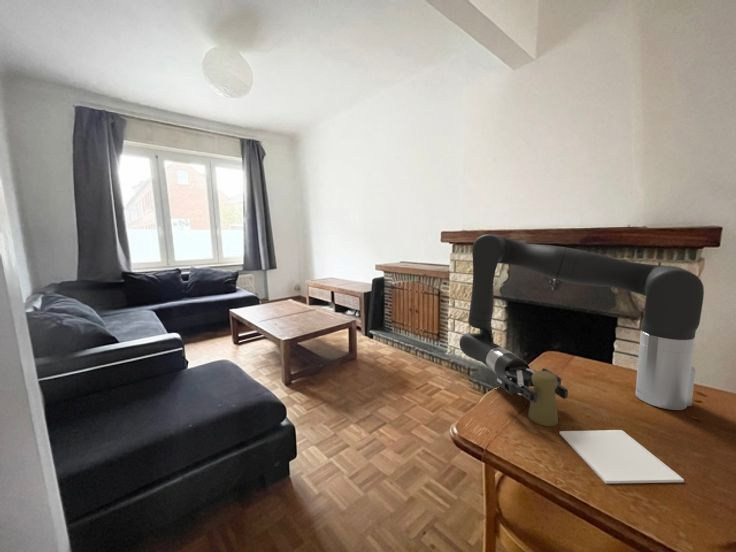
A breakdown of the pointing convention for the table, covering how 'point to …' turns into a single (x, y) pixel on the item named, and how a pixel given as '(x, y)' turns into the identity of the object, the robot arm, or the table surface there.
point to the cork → (544, 399)
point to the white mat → (619, 457)
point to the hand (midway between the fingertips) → (551, 396)
